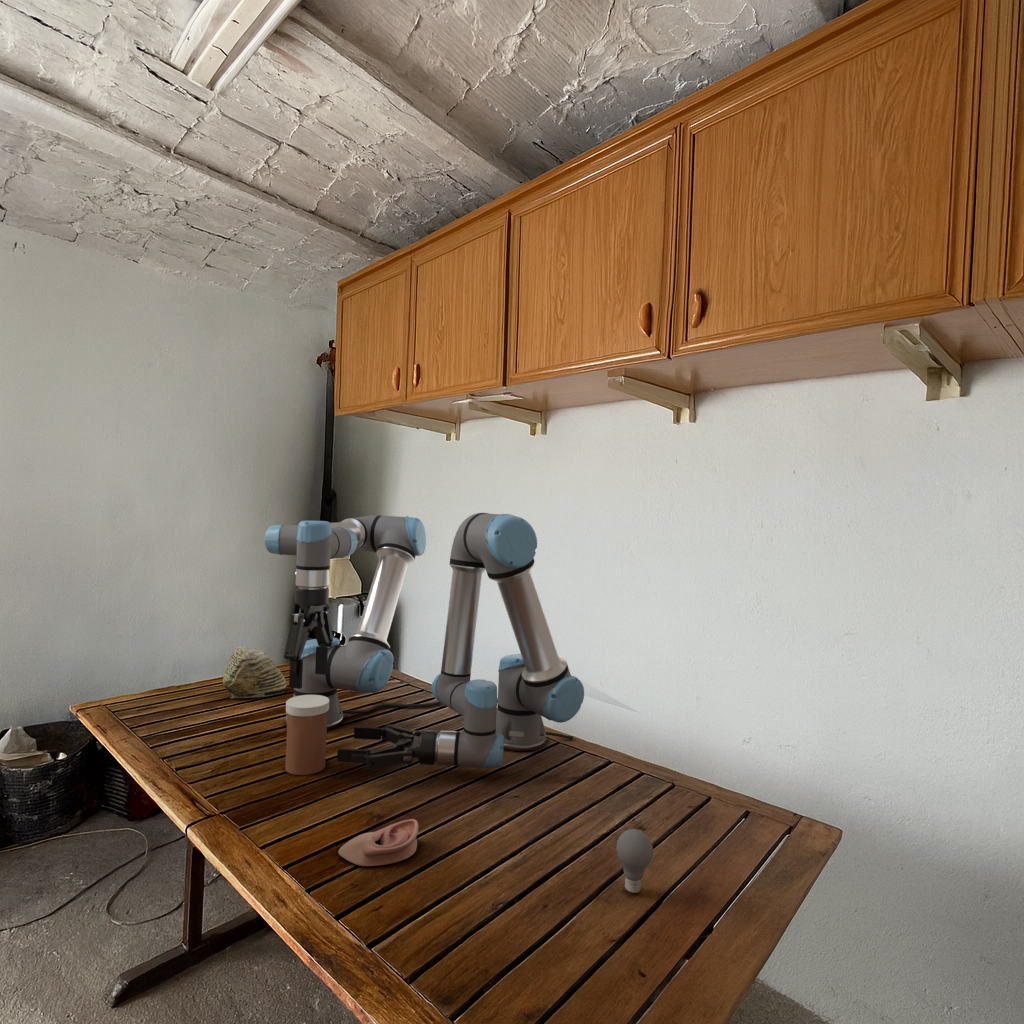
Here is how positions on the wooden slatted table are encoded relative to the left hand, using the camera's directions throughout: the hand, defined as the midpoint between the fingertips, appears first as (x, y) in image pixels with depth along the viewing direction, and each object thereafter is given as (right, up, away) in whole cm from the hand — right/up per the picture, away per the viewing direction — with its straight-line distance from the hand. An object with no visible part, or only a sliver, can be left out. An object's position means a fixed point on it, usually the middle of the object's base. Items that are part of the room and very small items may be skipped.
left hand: (308, 680), depth 148 cm
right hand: (+9, -14, 0) cm, 17 cm away
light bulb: (+68, -24, -42) cm, 83 cm away
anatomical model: (+23, -22, -33) cm, 46 cm away
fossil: (-33, -18, +50) cm, 63 cm away
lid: (0, -5, 0) cm, 5 cm away
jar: (-1, -20, 0) cm, 20 cm away
